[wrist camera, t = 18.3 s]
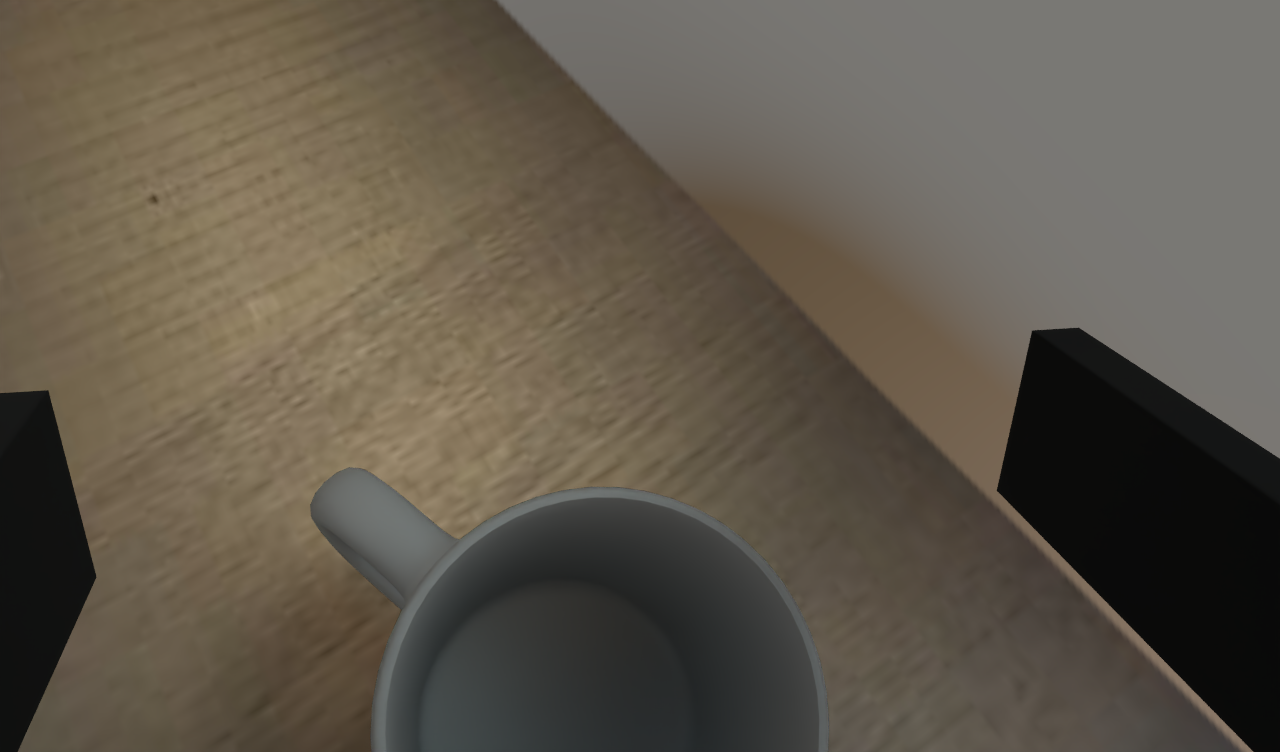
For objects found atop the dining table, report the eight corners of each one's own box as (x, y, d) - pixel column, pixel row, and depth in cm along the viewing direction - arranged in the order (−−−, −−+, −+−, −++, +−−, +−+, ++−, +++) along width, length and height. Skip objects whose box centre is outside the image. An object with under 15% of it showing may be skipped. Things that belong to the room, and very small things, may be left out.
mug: (759, 696, 29) (920, 677, 19) (572, 960, 26) (646, 1108, 16) (453, 435, 30) (450, 283, 20) (239, 658, 27) (106, 614, 17)
